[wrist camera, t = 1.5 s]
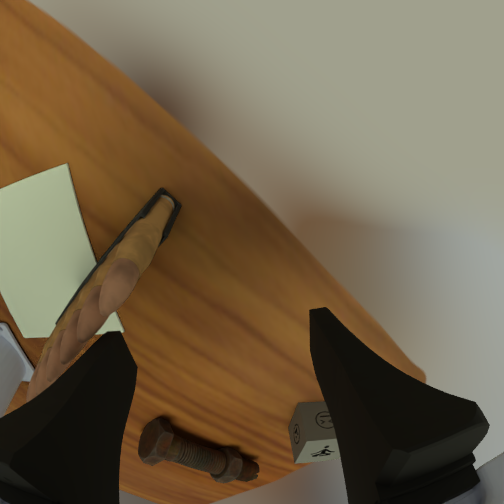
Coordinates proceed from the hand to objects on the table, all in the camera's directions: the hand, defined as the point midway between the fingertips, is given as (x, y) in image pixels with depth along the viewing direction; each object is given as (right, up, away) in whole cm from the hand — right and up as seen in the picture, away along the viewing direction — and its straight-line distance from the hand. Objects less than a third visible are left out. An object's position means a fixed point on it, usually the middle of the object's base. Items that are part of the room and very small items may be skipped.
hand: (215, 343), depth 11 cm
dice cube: (+8, -14, +19) cm, 26 cm away
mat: (-16, +2, +10) cm, 19 cm away
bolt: (-4, -20, +21) cm, 29 cm away
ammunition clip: (-8, +4, +10) cm, 13 cm away
